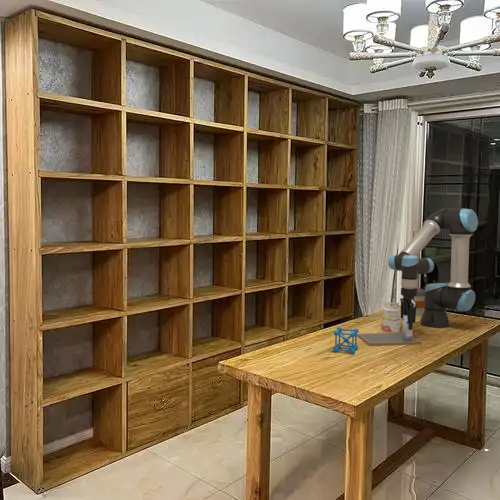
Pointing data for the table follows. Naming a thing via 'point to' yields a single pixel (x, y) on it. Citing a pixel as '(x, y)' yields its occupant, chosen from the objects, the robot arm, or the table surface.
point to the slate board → (386, 339)
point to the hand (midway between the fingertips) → (407, 334)
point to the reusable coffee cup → (419, 301)
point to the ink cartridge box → (391, 317)
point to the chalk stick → (405, 319)
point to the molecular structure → (346, 340)
